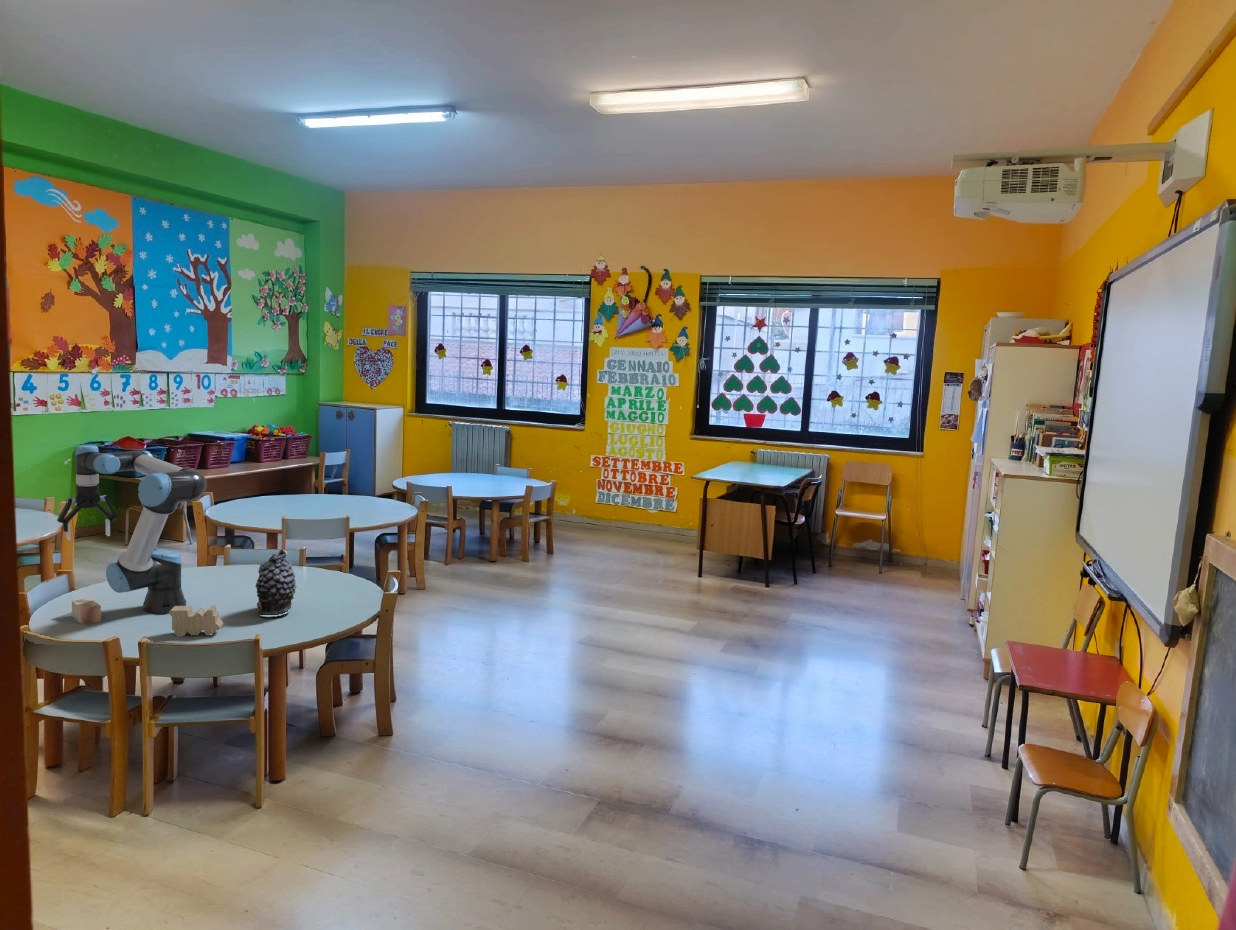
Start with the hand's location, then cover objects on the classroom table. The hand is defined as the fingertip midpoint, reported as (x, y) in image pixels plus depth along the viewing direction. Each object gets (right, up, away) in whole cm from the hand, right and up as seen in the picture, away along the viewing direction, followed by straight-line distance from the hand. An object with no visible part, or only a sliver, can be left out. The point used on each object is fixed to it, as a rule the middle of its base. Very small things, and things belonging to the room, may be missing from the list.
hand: (88, 537), depth 320 cm
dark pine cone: (+71, -31, +7) cm, 78 cm away
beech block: (+5, -25, -12) cm, 29 cm away
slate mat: (+9, -29, -14) cm, 34 cm away
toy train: (+54, -34, -22) cm, 68 cm away
